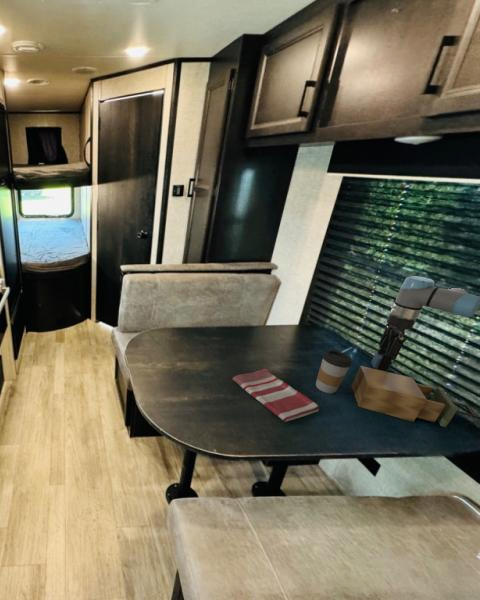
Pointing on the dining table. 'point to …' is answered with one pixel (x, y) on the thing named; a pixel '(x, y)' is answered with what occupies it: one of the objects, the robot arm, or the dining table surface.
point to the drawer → (440, 406)
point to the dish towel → (276, 395)
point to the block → (377, 360)
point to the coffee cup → (332, 371)
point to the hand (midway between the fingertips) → (379, 366)
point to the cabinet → (388, 393)
